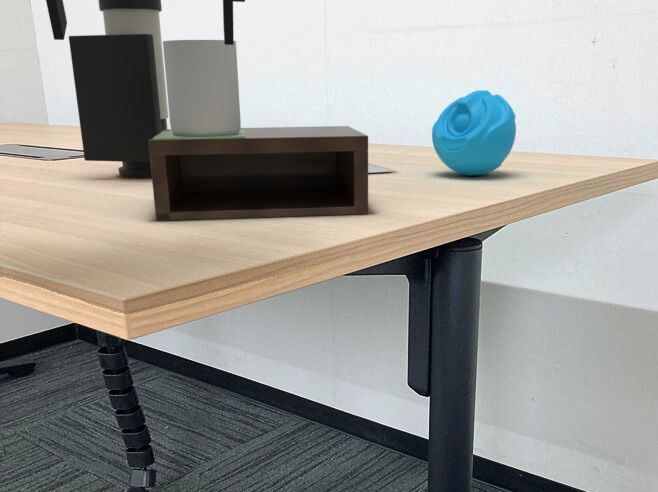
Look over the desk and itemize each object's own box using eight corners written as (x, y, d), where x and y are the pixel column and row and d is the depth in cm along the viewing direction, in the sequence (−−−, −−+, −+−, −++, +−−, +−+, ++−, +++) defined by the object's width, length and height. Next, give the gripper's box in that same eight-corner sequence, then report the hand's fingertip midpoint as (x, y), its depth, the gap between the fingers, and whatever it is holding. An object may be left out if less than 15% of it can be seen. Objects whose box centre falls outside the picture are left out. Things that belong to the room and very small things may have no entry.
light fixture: (196, 172, 114) (182, -6, 106) (161, 182, 104) (142, -13, 96) (127, 170, 118) (108, -2, 109) (86, 179, 108) (61, -10, 99)
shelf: (156, 220, 76) (147, 138, 74) (170, 197, 91) (164, 127, 88) (368, 214, 79) (368, 133, 76) (348, 192, 94) (348, 124, 91)
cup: (183, 137, 73) (175, 39, 70) (155, 132, 81) (146, 43, 78) (252, 134, 76) (247, 40, 73) (218, 129, 85) (212, 44, 82)
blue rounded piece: (416, 175, 108) (418, 91, 104) (462, 168, 116) (465, 89, 112) (486, 182, 101) (491, 91, 97) (530, 174, 108) (536, 90, 104)
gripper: (-127, -301, 41) (-21, 53, 58) (318, -257, 46) (299, 62, 62) (-97, -332, 46) (-6, 5, 62) (306, -289, 50) (291, 16, 67)
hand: (146, 34), depth 62 cm, fingers open, 13 cm apart
